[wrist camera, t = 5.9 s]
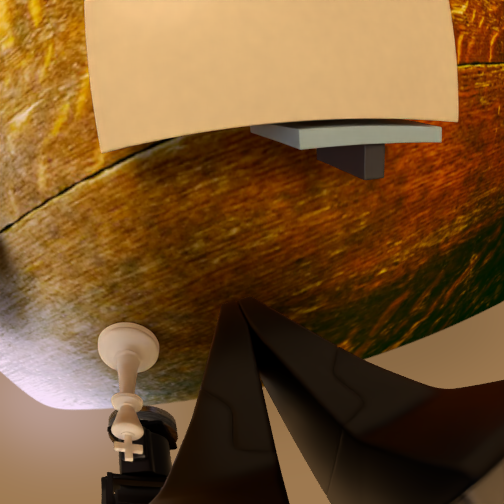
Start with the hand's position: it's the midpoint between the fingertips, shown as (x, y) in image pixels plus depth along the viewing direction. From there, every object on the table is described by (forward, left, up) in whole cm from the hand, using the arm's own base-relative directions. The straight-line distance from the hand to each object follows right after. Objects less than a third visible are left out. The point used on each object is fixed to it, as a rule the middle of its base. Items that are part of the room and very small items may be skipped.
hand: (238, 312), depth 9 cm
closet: (+18, -5, -12) cm, 22 cm away
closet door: (+3, -8, -11) cm, 14 cm away
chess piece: (-10, +7, -12) cm, 17 cm away
